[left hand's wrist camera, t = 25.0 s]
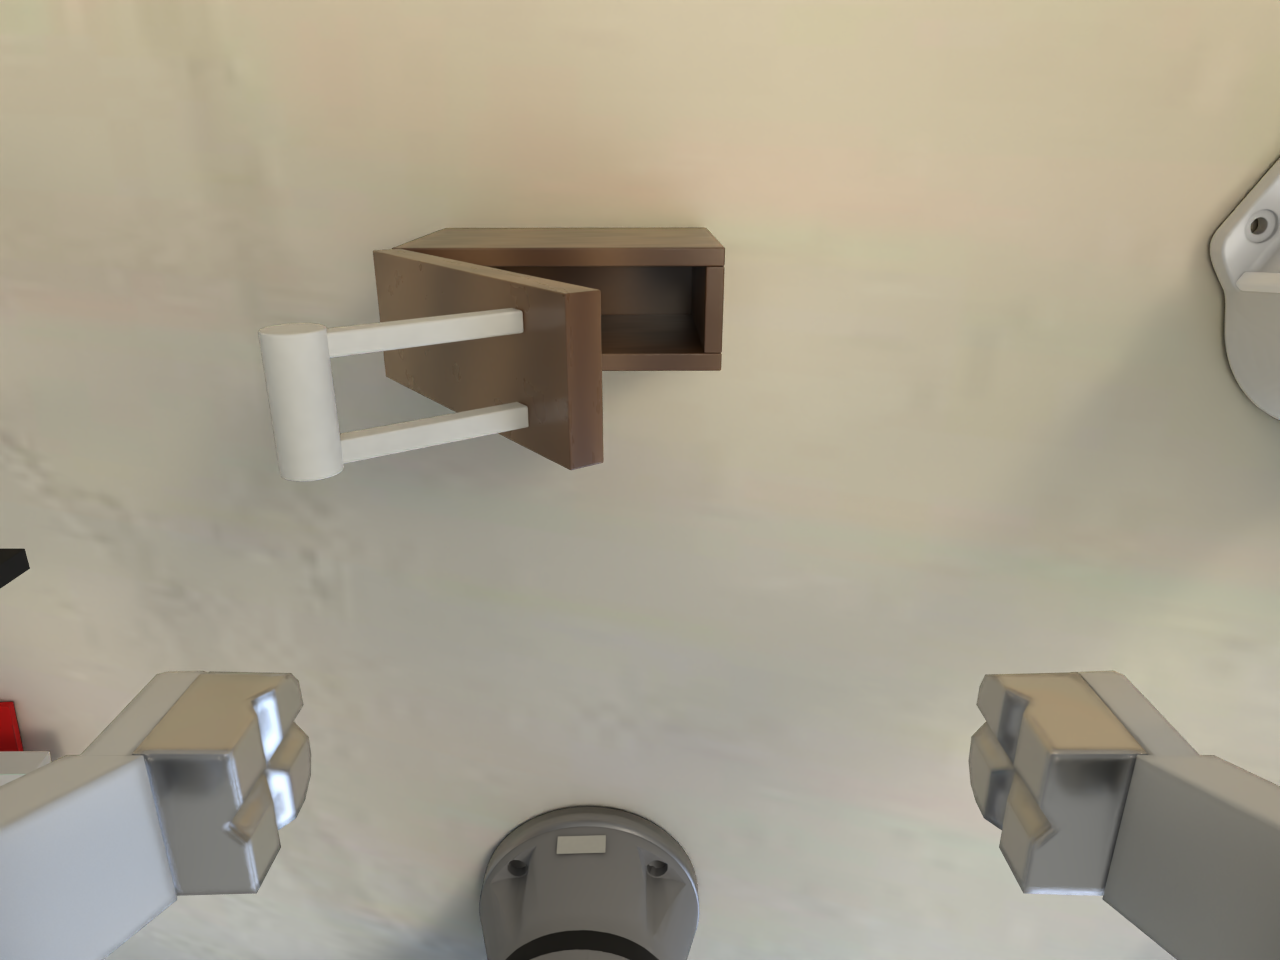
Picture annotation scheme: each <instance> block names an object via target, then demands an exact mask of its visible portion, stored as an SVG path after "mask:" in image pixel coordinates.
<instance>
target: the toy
mask: <svg viewBox="0 0 1280 960" xmlns="http://www.w3.org/2000/svg"><path fill="white" fill-rule="evenodd" d="M49 763H51V756H50V751H23V747H22V742H21V737H20V733H19V728H18V723H17V718H16V714H15V709H14V704H13V702H0V786H2V785H4V784H6V783H8V782H10V781H13V780H15V779H17V778H19V777H21V776H23V775H25V774H27V773H30V772H32V771H34V770H36V769H38V768H40V767H42V766H44V765H47V764H49Z"/></svg>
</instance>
